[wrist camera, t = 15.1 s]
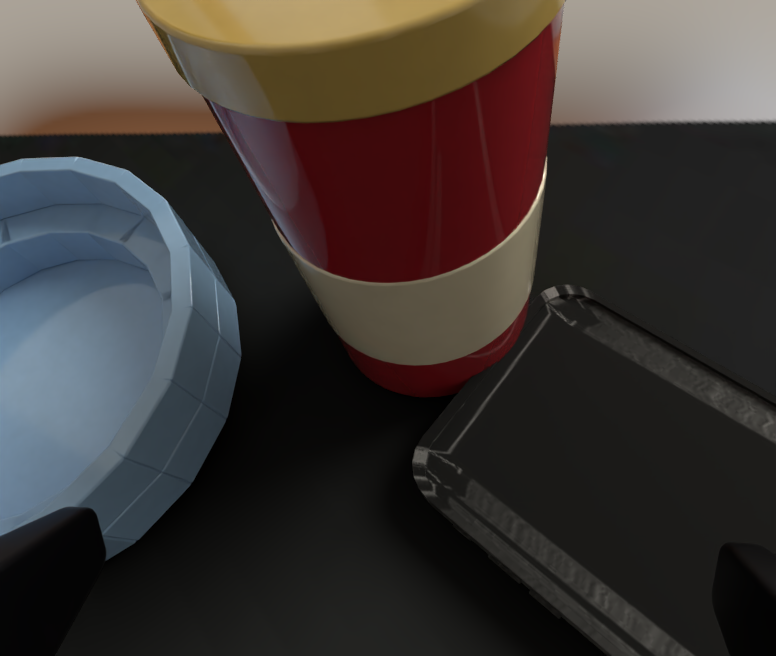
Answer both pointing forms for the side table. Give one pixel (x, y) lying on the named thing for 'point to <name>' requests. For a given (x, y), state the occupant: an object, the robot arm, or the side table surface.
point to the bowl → (105, 348)
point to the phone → (607, 473)
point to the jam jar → (389, 160)
